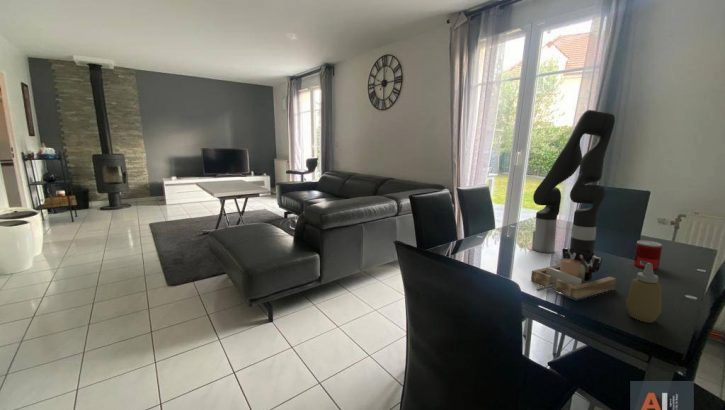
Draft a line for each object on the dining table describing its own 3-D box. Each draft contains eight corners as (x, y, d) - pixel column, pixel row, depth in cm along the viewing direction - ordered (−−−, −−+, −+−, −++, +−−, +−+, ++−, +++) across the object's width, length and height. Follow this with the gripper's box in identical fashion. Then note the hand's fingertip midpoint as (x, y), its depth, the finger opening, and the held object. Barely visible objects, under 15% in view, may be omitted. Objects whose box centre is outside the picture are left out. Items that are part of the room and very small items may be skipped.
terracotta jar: (555, 284, 118) (557, 260, 116) (565, 281, 120) (567, 257, 118) (571, 290, 112) (573, 265, 110) (581, 287, 115) (583, 262, 113)
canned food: (663, 270, 126) (667, 246, 124) (641, 269, 128) (644, 245, 126) (650, 264, 134) (653, 240, 132) (629, 263, 135) (632, 240, 133)
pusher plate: (522, 286, 117) (523, 272, 115) (547, 280, 121) (548, 266, 120) (554, 301, 105) (555, 285, 103) (580, 294, 109) (581, 278, 108)
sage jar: (567, 279, 120) (568, 259, 118) (576, 277, 121) (578, 256, 120) (581, 285, 114) (583, 264, 113) (590, 282, 116) (593, 261, 115)
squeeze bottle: (617, 312, 97) (624, 259, 94) (640, 310, 98) (648, 258, 95) (642, 326, 89) (651, 269, 86) (667, 324, 90) (676, 268, 87)
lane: (531, 281, 121) (531, 269, 120) (567, 272, 128) (568, 261, 127) (575, 301, 105) (577, 288, 104) (614, 289, 112) (616, 277, 111)
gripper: (610, 240, 109) (605, 283, 112) (571, 230, 122) (567, 269, 126) (596, 243, 107) (591, 287, 110) (558, 233, 120) (555, 272, 123)
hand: (579, 277), depth 118 cm, fingers closed on sage jar, 5 cm apart
